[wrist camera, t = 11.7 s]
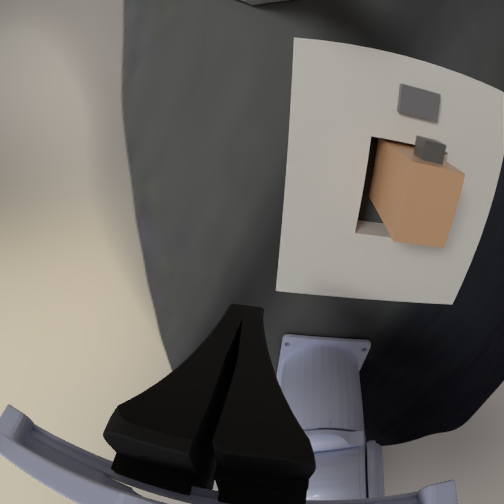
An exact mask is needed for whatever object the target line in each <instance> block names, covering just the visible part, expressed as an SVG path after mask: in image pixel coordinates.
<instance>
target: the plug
mask: <svg viewBox="0 0 504 504" xmlns="http://www.w3.org/2000/svg"><path fill="white" fill-rule="evenodd" d="M445 150H446V145H445V144H443V143H441V142H439V141H437V140H434V139H430V138H426V137H422V136H417V135H416V141H415V145H413V144H409V143H404V142H399V141H394V140H389V139H383V138H378V144H377V151H376V158H375V164H374V170H373V176H372V182H371V188H370V193H369V198H370V199H371V201H372V203H373V205H374V206H375V208H376V210H377V212H378V214H379V216H380V217H381V219H382V221H383V223H384V225H385V227H386V229H387V230H388V232H389V234H390V236H391V238H392V240H393V242H401V243H409V244H417V245H425V246H432V247H440V248H444V246H445V243H446V240H447V237H448V234H449V231H450V228H451V225H452V222H453V218H454V215H455V212H456V208H457V205H458V201H459V197H460V194H461V190H462V186H463V182H464V178H465V173H463V172H462V171H460V170H459V169H457V168H456V167H454V166H453V165H451V164H450V163H448V162H447V161H445V160H444V156H445Z"/></svg>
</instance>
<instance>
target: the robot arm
mask: <svg viewBox="0 0 504 504" xmlns="http://www.w3.org/2000/svg"><path fill="white" fill-rule="evenodd" d="M263 314H264V309H263V308H262V307H254V306H245V305H237V304H231V305H230V306H229V307H228V309H227V311H226V312H225V314H224V315H223V317H222V318H221V320H220V321H219V322H218V324H217V325H216V327H215V328H214V329H213V330H212V332H211V333H210V334H209V335H208V337H207V338H206V339H205V340H204V341H203V342H202V343H201V345H200V346H199V347H198V348H197V349H196V350H195V351H194V352H193V353H192V354H191V355H190V356H189V357H188V358H187V359H186V360H185V361H184V362H183V363H182V364H181V365H180V366H178V367H177V368H176V369H175V370H174V371H172V372H171V373H170V374H169V375H167V376H166V377H165V378H163V379H162V380H161V381H159V382H158V383H157V384H155V385H153V386H152V387H150V388H149V389H147V390H146V391H144V392H143V393H141V394H139V395H137V396H135V397H133V398H132V399H130V400H128V401H126V402H124V403H122V404H120V405H118V406H117V408H116V409H115V411H114V413H113V414H112V416H111V417H110V420H109V422H108V424H107V426H106V428H105V430H104V433H103V437H104V439H105V440H106V442H108V444H109V445H110V446H111V447H112V448H113V449H114V450H115V451H116V452H117V453H116V456H115V458H114V461H113V462H112V461H110V460H107V459H104V458H102V457H100V456H97V455H95V454H93V453H90V452H88V451H86V450H84V449H81V448H79V447H77V446H75V445H73V444H71V443H69V442H66V441H65V440H63V439H61V438H59V437H57V436H55V435H53V434H51V433H49V432H47V431H46V430H43V429H42V428H40V427H38V426H37V425H35V424H34V423H33V422H32V421H31V419H30V418H28V417H27V416H26V415H25V414H23V413H22V412H20V411H19V410H17V409H15V408H14V407H12V406H11V405H7V407H6V409H5V410H4V412H3V414H2V416H1V417H0V454H1V455H2V456H4V457H5V458H7V459H8V460H9V461H10V462H12V463H13V464H15V465H16V466H17V467H19V468H20V469H22V470H23V471H25V472H26V473H28V474H29V475H30V476H32V477H33V478H35V479H37V480H38V481H40V482H41V483H43V484H44V485H46V486H48V487H49V488H51V489H53V490H54V491H56V492H58V493H60V494H62V495H63V496H65V497H67V498H69V499H71V500H72V501H75V502H76V503H79V504H166V503H163V502H159V501H155V500H152V499H148V498H145V497H142V496H141V495H139V494H137V493H136V492H135V491H133V489H132V488H131V487H128V486H126V485H124V484H127V485H130V486H133V487H136V488H139V489H142V490H145V491H148V492H151V493H154V494H157V495H161V496H164V497H168V498H172V499H175V500H179V501H183V502H187V503H191V504H458V503H457V493H456V485H455V481H454V480H449V481H445V482H441V483H436V484H432V485H429V486H426V487H424V488H422V489H420V490H419V491H418V492H412V493H407V494H400V495H393V496H385V497H384V475H383V474H384V473H383V459H382V446H380V445H379V444H377V443H376V442H375V441H374V440H372V441H368V442H367V444H366V438H365V433H364V419H363V407H362V396H361V386H360V377H359V371H360V369H361V367H362V365H363V363H364V360H365V358H366V356H367V354H368V352H369V349H370V347H371V342H370V341H369V340H362V339H344V338H329V337H316V336H304V335H293V334H286V335H284V336H283V338H282V345H281V351H280V358H279V364H278V370H277V376H276V375H275V372H274V369H273V366H272V363H271V359H270V356H269V352H268V348H267V343H266V339H265V333H264V325H263ZM363 348H364V349H363ZM113 479H114V480H113ZM115 480H117V481H119V482H117V481H115ZM214 480H215V481H216V484H217V487H218V491H214V490H212V489H213V485H214ZM120 482H122V483H124V484H122V483H120Z"/></svg>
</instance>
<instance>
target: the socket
mask: <svg viewBox="0 0 504 504" xmlns="http://www.w3.org/2000/svg"><path fill="white" fill-rule="evenodd" d="M416 135H417V136H422V137H426V138H430V139H434V140H437V141H439V142H441V143H443V144H445V145H446V150H445V156H444V160H445V161H447V162H448V163H450V164H451V165H453V166H454V167H456V168H457V169H459V170H460V171H462V172H463V173H465V178H464V182H463V186H462V190H461V194H460V197H459V201H458V205H457V208H456V212H455V215H454V218H453V222H452V225H451V228H450V231H449V234H448V237H447V240H446V243H445V246H444V248H440V247H432V246H425V245H417V244H409V243H401V242H393V240H392V238H391V236H390V234H389V232H388V230H387V229H386V227H385V225H384V224H383V223H376V222H368V221H360V220H358V215H359V210H360V204H361V199H362V193H363V187H364V182H365V176H366V169H367V163H368V156H369V149H370V142H371V136H372V137H378V138H383V139H389V140H394V141H399V142H404V143H409V144H413V145H415V141H416ZM503 156H504V92H502V91H500V90H498V89H496V88H494V87H491V86H489V85H487V84H485V83H482V82H480V81H478V80H475V79H473V78H470V77H468V76H465V75H463V74H460V73H457V72H454V71H452V70H449V69H446V68H443V67H440V66H437V65H434V64H431V63H428V62H424V61H421V60H417V59H414V58H410V57H407V56H403V55H399V54H395V53H391V52H386V51H382V50H377V49H373V48H368V47H362V46H357V45H351V44H345V43H338V42H331V41H323V40H315V39H305V38H294V49H293V70H292V90H291V107H290V124H289V139H288V154H287V168H286V181H285V194H284V206H283V218H282V230H281V241H280V252H279V263H278V273H277V283H276V291H282V292H292V293H302V294H313V295H324V296H335V297H347V298H359V299H372V300H386V301H401V302H417V303H434V304H453V302H454V300H455V298H456V295H457V293H458V291H459V289H460V287H461V285H462V282H463V280H464V278H465V275H466V273H467V271H468V268H469V266H470V264H471V261H472V259H473V256H474V254H475V251H476V248H477V246H478V243H479V240H480V238H481V235H482V232H483V229H484V226H485V223H486V220H487V217H488V214H489V210H490V207H491V204H492V200H493V197H494V193H495V190H496V186H497V182H498V178H499V174H500V170H501V165H502V161H503Z"/></svg>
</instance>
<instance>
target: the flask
mask: <svg viewBox="0 0 504 504" xmlns="http://www.w3.org/2000/svg"><path fill="white" fill-rule="evenodd" d="M240 1H243V2H245V3H248V4H251V5H256V4H263V3H270V2H279V1H288V0H240Z"/></svg>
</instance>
